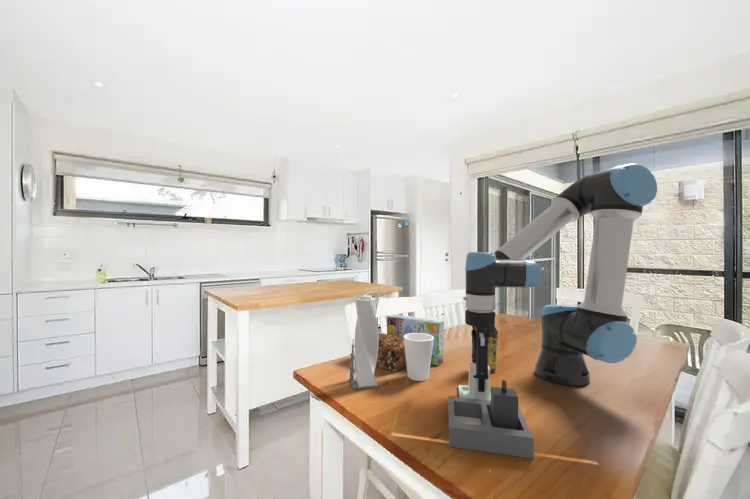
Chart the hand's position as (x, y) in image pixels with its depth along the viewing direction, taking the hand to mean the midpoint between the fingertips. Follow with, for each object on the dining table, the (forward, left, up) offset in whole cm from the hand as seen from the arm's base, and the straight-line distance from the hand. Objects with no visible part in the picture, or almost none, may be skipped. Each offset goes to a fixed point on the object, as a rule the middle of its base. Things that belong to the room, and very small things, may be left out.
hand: (478, 394), depth 84 cm
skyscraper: (+32, -4, -2) cm, 32 cm away
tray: (0, 0, -2) cm, 2 cm away
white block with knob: (0, 0, -1) cm, 1 cm away
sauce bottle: (-5, -24, -2) cm, 24 cm away
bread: (+30, -23, -2) cm, 37 cm away
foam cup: (+17, -12, -2) cm, 21 cm away
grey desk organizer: (0, +14, -2) cm, 15 cm away
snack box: (+20, -30, -2) cm, 36 cm away
